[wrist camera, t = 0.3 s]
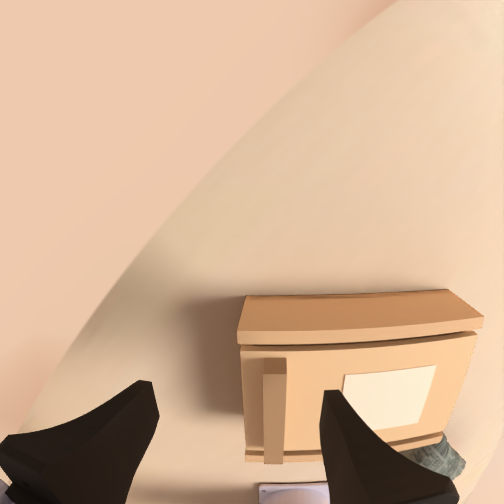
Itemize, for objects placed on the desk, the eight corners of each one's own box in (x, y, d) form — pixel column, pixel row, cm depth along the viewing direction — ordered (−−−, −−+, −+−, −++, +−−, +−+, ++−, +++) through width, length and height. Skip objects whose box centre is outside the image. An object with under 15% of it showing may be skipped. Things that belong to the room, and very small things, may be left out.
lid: (441, 425, 18) (451, 443, 15) (246, 444, 19) (243, 466, 17) (473, 330, 16) (490, 346, 14) (241, 345, 17) (236, 367, 15)
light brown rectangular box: (419, 404, 22) (440, 442, 17) (251, 416, 24) (245, 461, 18) (448, 289, 20) (484, 316, 15) (246, 295, 21) (236, 330, 16)
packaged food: (399, 489, 26) (408, 518, 21) (351, 456, 24) (359, 493, 20) (460, 449, 24) (475, 476, 19) (426, 406, 23) (446, 440, 18)
